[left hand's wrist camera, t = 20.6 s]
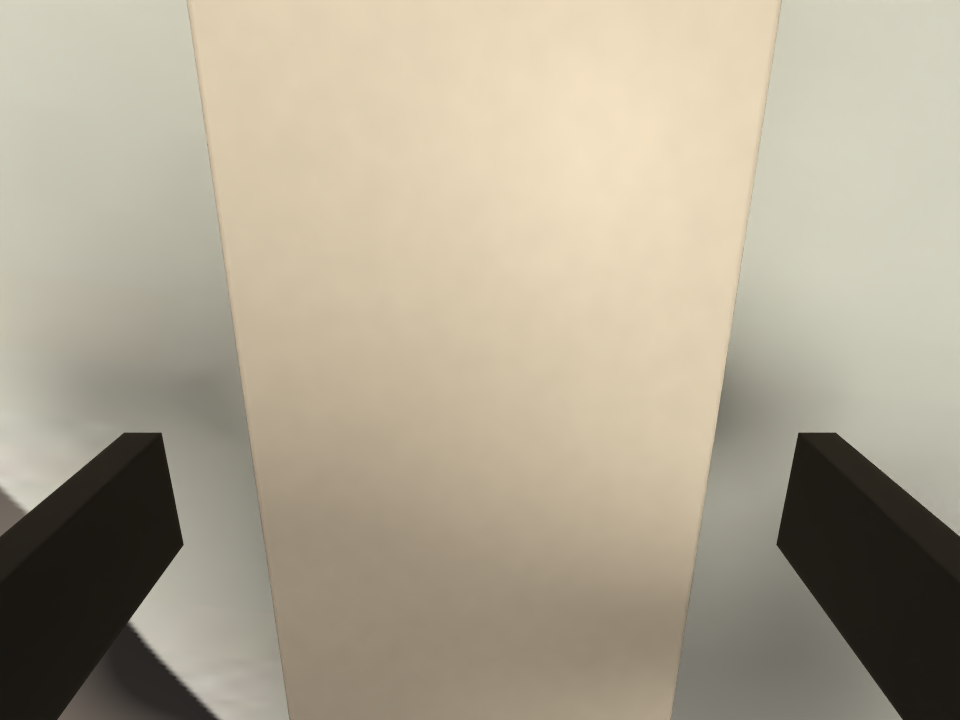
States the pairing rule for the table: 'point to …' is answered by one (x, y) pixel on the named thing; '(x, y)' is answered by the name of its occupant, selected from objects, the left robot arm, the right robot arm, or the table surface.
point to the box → (482, 333)
